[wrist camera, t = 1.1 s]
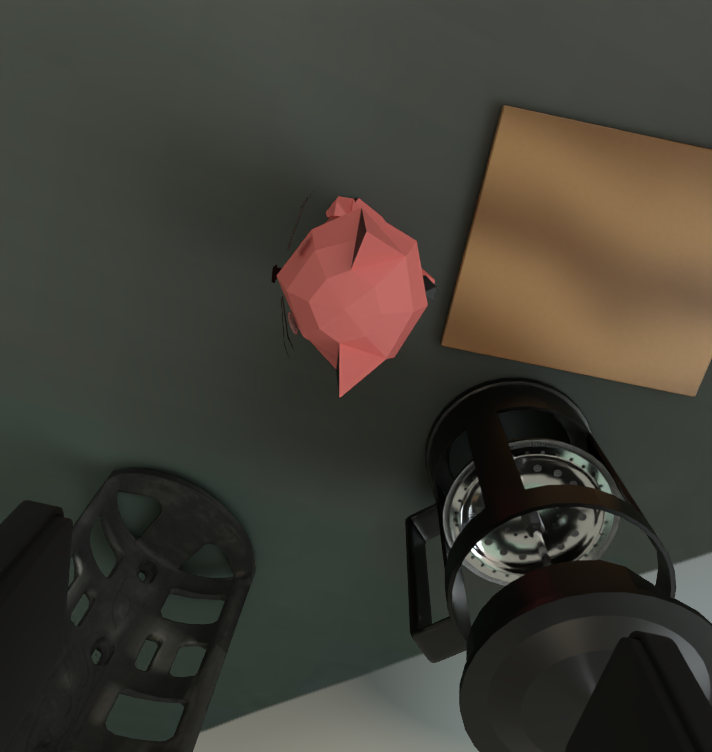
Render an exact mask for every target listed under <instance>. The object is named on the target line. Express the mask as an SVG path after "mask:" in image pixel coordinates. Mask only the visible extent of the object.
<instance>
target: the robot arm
mask: <svg viewBox="0 0 712 752" xmlns="http://www.w3.org/2000/svg"><path fill="white" fill-rule="evenodd" d="M72 529H73V522H72V520H71V519H68V518H64V512H63V510H62V508H60V507H57V506H52V505H47V504H42V503H38V502H33V501H28V500H26V501H23V502H22V503H21V504H19V505H18V506H17V507H16V509H15V510H14V511H13V512H12V513H11V514H10V515H9V516H8V517H7V518H6V519H5V520H4V521H3V522H2V523H1V524H0V752H4V751H5V749H6V747H7V746H8V744H9V743H10V741H11V739H12V738H13V736H14V734H15V733H16V731H17V729H18V728H19V726H20V724H21V723H22V721H23V719H24V718H25V716H26V714H27V713H28V711H29V709H30V708H31V706H32V704H33V703H34V701H35V699H36V698H37V696H38V694H39V693H40V691H41V689H42V688H43V686H44V684H45V683H46V681H47V680H48V678H49V676H50V675H51V673H52V671H53V670H54V668H55V666H56V664H57V662H58V660H59V658H60V655H61V652H62V649H63V644H64V635H65V621H66V608H67V595H68V582H69V569H70V555H71V542H72ZM565 752H712V706H711V705H710V703H709V701H708V699H707V698H706V696H705V694H704V692H703V690H702V689H701V687H700V685H699V683H698V682H697V680H696V678H695V676H694V675H693V673H692V671H691V669H690V668H689V666H688V664H687V662H686V660H685V659H684V657H683V655H682V653H681V652H680V650H679V648H678V646H677V645H676V643H675V642H674V641H673V640H672V639H671V638H669V637H666V636H661V635H656V634H652V633H647V632H642V631H633V632H632V633H630V635H629V636H628V637H622V638H621V639H620V640H619V641H618V643H617V645H616V647H615V649H614V651H613V653H612V655H611V657H610V659H609V661H608V663H607V665H606V667H605V669H604V671H603V673H602V675H601V677H600V679H599V681H598V683H597V685H596V687H595V689H594V691H593V693H592V695H591V697H590V699H589V701H588V703H587V705H586V707H585V709H584V711H583V713H582V715H581V717H580V719H579V721H578V723H577V725H576V727H575V729H574V731H573V733H572V735H571V737H570V739H569V741H568V743H567V746H566V750H565Z"/></svg>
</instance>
